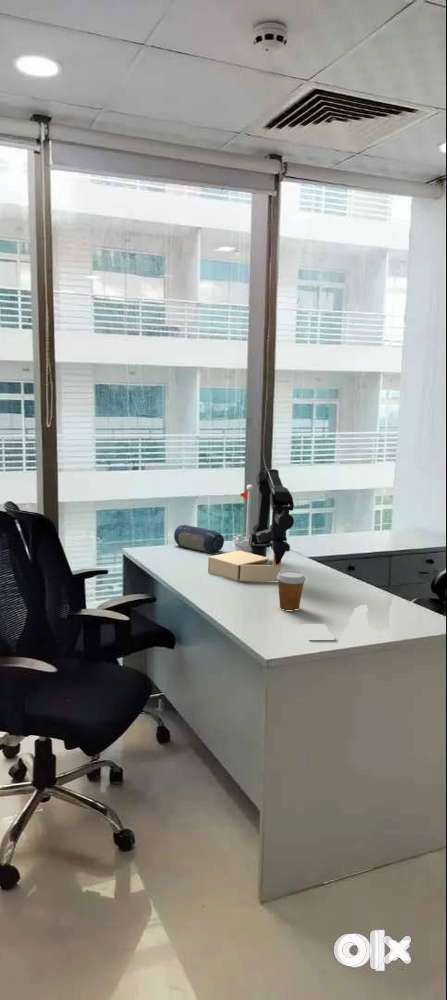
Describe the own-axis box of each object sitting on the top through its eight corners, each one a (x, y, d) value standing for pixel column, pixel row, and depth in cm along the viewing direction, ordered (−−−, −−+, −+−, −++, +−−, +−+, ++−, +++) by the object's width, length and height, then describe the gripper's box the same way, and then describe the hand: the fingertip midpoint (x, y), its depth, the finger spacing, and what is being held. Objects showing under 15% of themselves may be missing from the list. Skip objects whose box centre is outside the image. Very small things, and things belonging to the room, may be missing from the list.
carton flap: (280, 581, 251) (281, 553, 249) (280, 581, 250) (282, 554, 248) (239, 580, 249) (241, 553, 248) (240, 581, 248) (241, 553, 247)
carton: (239, 565, 273) (240, 550, 272) (268, 574, 261) (269, 558, 260) (208, 572, 260) (208, 556, 259) (237, 581, 249) (237, 565, 248)
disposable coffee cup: (273, 604, 224) (274, 569, 222) (300, 604, 225) (302, 570, 223) (277, 613, 214) (279, 577, 213) (306, 613, 215) (308, 578, 213)
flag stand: (266, 548, 306) (269, 484, 301) (252, 553, 295) (255, 487, 290) (241, 544, 312) (244, 481, 307) (227, 549, 301) (230, 484, 296)
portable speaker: (169, 546, 302) (170, 525, 301) (184, 543, 310) (184, 522, 309) (211, 556, 287) (212, 533, 286) (225, 552, 295) (226, 530, 293)
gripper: (255, 517, 255) (253, 556, 258) (260, 528, 237) (258, 570, 239) (283, 518, 256) (281, 557, 258) (291, 529, 237) (288, 570, 240)
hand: (277, 563), depth 249 cm, fingers closed
